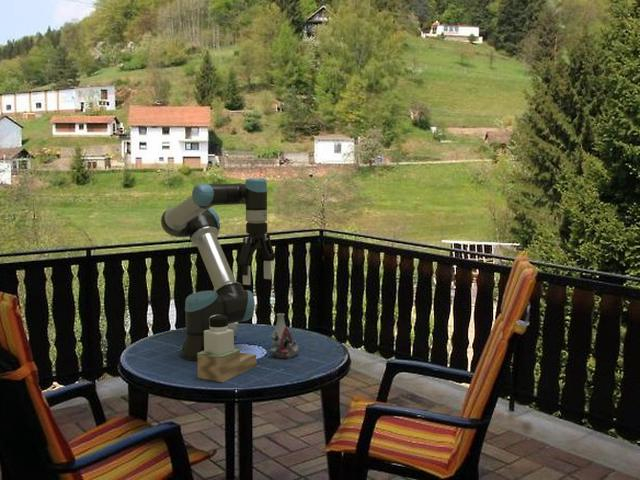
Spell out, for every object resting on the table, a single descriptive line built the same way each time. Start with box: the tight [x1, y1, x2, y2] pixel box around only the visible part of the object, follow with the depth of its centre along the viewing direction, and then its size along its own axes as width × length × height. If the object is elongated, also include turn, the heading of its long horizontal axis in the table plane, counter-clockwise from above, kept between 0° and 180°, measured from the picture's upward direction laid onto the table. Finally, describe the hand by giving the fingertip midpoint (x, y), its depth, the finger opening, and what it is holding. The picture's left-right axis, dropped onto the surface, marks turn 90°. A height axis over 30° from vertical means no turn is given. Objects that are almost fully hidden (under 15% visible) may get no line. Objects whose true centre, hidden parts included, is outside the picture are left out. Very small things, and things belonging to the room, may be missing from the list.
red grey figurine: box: [268, 325, 300, 359], centre depth 237 cm, size 11×11×12 cm
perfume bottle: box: [227, 323, 238, 337], centre depth 263 cm, size 8×10×12 cm
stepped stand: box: [196, 348, 257, 383], centre depth 217 cm, size 10×20×8 cm, turn 153°
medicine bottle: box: [204, 315, 235, 355], centre depth 211 cm, size 7×7×12 cm
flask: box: [273, 312, 289, 340], centre depth 262 cm, size 7×7×10 cm
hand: (257, 281), depth 228 cm, fingers open, 13 cm apart
